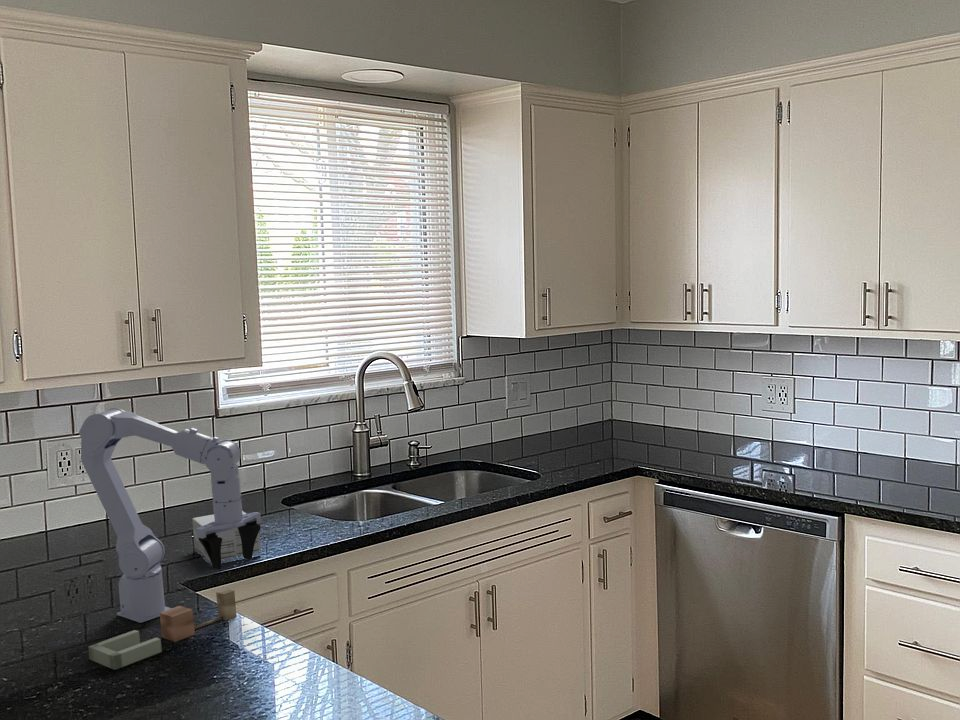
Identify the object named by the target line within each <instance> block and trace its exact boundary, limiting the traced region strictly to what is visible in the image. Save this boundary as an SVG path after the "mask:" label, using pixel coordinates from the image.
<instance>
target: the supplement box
mask: <svg viewBox="0 0 960 720" xmlns="http://www.w3.org/2000/svg"><path fill="white" fill-rule="evenodd" d="M242 514H247V512H245V511H243V510H242ZM191 520H192V530H193V531H192V533H193V540H194V548H195V547H196V548H197V549H198V550H199V551H200V552H201V553H202V554H203V555H204V556H205V557H206V558H207V559H208V560H209V561H210V558H209V556H208V553H207V552H206V550H205V548H204V546H203V545H202V543H201V542H200V541H199V538H198V537H197V535H196V528H198V527H201V526H204V525H206V524H209V523H211V522H213V521H215V519H214V513H213V514H208V515H203V516H196V517H193V518H191ZM257 524H260V522H258V523H257ZM216 535H217V536H218V537H220V538H222V543H221V559H224V558H229V557H235V556H240V555H243V552H242V542H241V537H240V534H239V530H238V527H237V528H234V529H230V530H227V531H223V532H220V533H216ZM260 537H261V535H260V532H259V533H258V535H257V538H256V541H255V544H254V549H253V553H255V552H259V551H261V552H262V549H261V538H260Z"/></svg>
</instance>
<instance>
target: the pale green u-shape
mask: <svg viewBox="0 0 960 720" xmlns="http://www.w3.org/2000/svg"><path fill="white" fill-rule="evenodd" d="M140 638H141V637H140V631H139V630H137V629H133V630H130V631H128V632H126V633H125V632H124V633H122V634H118V635H116V636H113V637H111V638H108V639H105V640H102V641H100V642H97V643H94V644H92V645H89V646H88V657H89V660H90V661H92V662H95V663H97V664H99V665H101V666H104V667H107V668H109V669H111V670H113V671H114V670H119V669H120V668H124V667H126V666H128V665H131V664H134V663H136V662H139V661H142V660H144V659H146V658H150V657H152V656H155V655H157V654H160V653H162V652H163V651H162V650H163V649H162V641H161V640H162V639H161V638H159V637H154V638H151V639H147V640H145V641H142V642H141V639H140Z"/></svg>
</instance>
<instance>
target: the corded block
mask: <svg viewBox="0 0 960 720" xmlns="http://www.w3.org/2000/svg"><path fill="white" fill-rule="evenodd" d="M215 593H216V595H215V596H216V604H217V605H216V606H217V618H212V619H210V620H208V621H205V622H202V623H200V624H197V625H195V619H194V612H193V611H194V610H193V609H192V608H188V607H185V606H182V605H177V606H175V607H172V609H169V610H166V611H163V612H160V616H159V621H160V622H159V623H160V633H161V638H162V639H165V640H168V641H171V642H174V643H176V642H178V641H181V640H184V639H187V638H190V637H192V636H194V635H196V632H195V631H196V630H197V629H200V628H202V627H206V626H207V625H211V624H212V623H216V622H218V621H222V620H223V621H228V620H231V619H234V618H237V615H238V614H237V606H236V595H235V594H236V593H235V590H233V589H230V588H225V589H222V590H218V591H217V592H215Z"/></svg>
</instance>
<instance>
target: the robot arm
mask: <svg viewBox="0 0 960 720" xmlns="http://www.w3.org/2000/svg"><path fill="white" fill-rule="evenodd" d="M198 431H199V430H198V429H197V428H196V427H191V428H189V429H188V428H184V429H182V430H180V431H177V430H175V429H172V428H169V427H167V426H165V425H162V424H160V423H157V422H155V421H153V420H150V419H148V418H145V417H143V416H140V415H139V414H137V413H135V412H133V411H129V410H124V409H122V408H119V407H113V408H109V409H107V410H104V411H102V412H99V413H98V412H97V413H94V414H90V415H89V416H87V417H86V418H85V420H84V421H83V423H82V425H81V426H80V428H79V430H78V434H79V436H80V438H81V443H80V444H81V445H80V446H81V447H80V460H81V464H82V465H83V468H84V469H85V472H86V474H87V476H88V478H89V480H90V482H91V484H92V486H93V488H94V490H95V492H96V494H97V496H98V498H99V501H100V503H101V505H102V507H103V509H104V511H105V513H106V516H107V517H108V519H109V521H110V523H111V526H112V528H113V530H114V532H115V534H116V536H117V539H116V544H115V545H116V546H115V551H116V553H117V556H118V567H119V569H120V571H121V573H122V574H121V577H120V579H119V581H118V594H119V603H120V604H119V606H120V611H119V612H117V613H116V615H117V616H118V617H122V618H125V619H128V620H131V621H134V622H137V623H140V624H141V623H144V622H147V621H150V620H153V619H157V618H160V612H163V611H166V610H169V609H172V608H173V607H172V608H171V607H169V606H166V604H165V603H166V601H165V592H164V590H165V589H164V581H163V580H164V579H163V571H162V566H161V562H162V560H163V558H164V556H165V551H166V550H165V546H164V544H163V542H162V541H161V540H160V539H159V538H157V536H156V535H155V534H154V532H153V531H152V529H151V528H149V527H148V526H146V525H145V524H143V522H142V521H141V519H140V516H139V513H138V512H137V509H136V508H135V506H134V504H133V501H132V499H131V498H130V495H129V493H128V491H127V489H126V487H125V484H124V483H123V481H122V478H121V476H120V474H119V472H118V470H117V468H116V465H115V464H114V462H113V460H112V456H113V454H114V451H115V449H116V447H117V444H118V443H119V442H120V441H121V440H122V439H124V438H129V437H134V436H136V437H139V438H142V439H145V440H149V441H151V442H155V443H159V444H161V445H165V446H169V447H170V448H171V449H172V451H173V453H174V454H175V455H176V456H179V457H181V458H185V459H187V460H190V461H193V462H196V463H198V464H201V465H205V466H206V468H207V469H208V471H210V484H211V495H212V506H213V507H212V508H213V514H214V519H215V521H213V522H211V523H209V524H206V525H204V526H201V527H198V528H196V535H197V537H198V538H199V541H200V542H201V543H202V545H203V546H204V548H205V550H206V552H207V553H208V556H209V558H210V561H211V564H212V566H211V567H212V569H214V570H221V569H222V564H221V543H222V538H220V537H218V536H217V535H216V533H220V532H223V531H227V530H230V529H234V528H237V527H238V530H239V534H240V537H241V542H242V552H243V557H244V558H245V560H252V559H253V558H252V555H253V549H254V544H255V541H256V538H257V535H258V533H259V534H260V531H261V524H260V523H261V522H262V517H261V512H257V511H256V512H255V511H253V512H250V513H249V512H248V513H246V514H242V511H243V504H242V503H243V501H242V493H241V492H242V491H241V481H240V474H239V473H240V472H239V464H238V463H239V462H240V460H241V455H242V453H241V452H242V451H241V449H240V447H239V446H238V445H237V443H235V442H234V441H232V440H231V439H223V440H221V441H220V440H219V439H220V438H219V437H217V436H213V437H211V436H209V435H205V434H203V433H200V432H198ZM258 522H259V524H257V523H258Z"/></svg>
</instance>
